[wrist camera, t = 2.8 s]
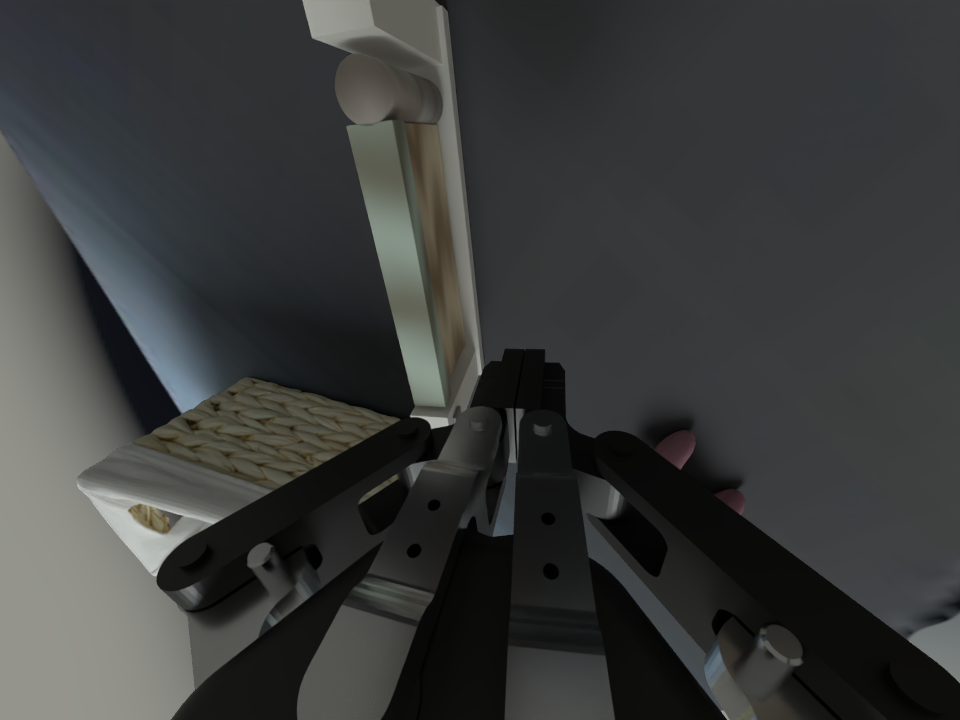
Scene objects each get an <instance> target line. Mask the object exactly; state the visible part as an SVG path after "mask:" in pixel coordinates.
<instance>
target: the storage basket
mask: <svg viewBox="0 0 960 720" xmlns="http://www.w3.org/2000/svg"><path fill="white" fill-rule="evenodd" d="M398 421H400V419H399V418H396V417H393V416H392V417H390V416H386V415H382V414H379V413H376V412H374V411H372V410H369V409H366V408H362V407H356V406H350V405H348V404H346V403H344V402H338V401H334V400H331V399H328V398H326V397H324V396H321V395H317V394H313V393H307V392H301V390H297V389H290V388H286V387H283V386H279V385H278V384H275V383H272V382H265V381H262V380H258V379H255V378H250V377H245V378H243V379H241V380H239V381H238V382H237V383H236V384H234V385H231V386H230V387H229V388H227V390H224V391H221V392H220V393H218V394H217V395H214V396H212V397H210V398H208V399H207V400H204V401H203V402H201V403H200V404H199V405H197V406H196V407H195V408H194V409H190V410H188V411H186V412H185V413H183V414H182V415H181V416H180V417H176V418H175V419H173V420H171V421H170V422H169V423H168V424H167V425H164V426H162V427H159V428H157V429H155V430H154V431H153V432H152V433H151V434H149V435H145V436H144V437H141V438H139V439H137V440H135V441H133V442H131V443H127V444H125V445H124V446H122V447H120V448H118V449H116V450H115V451H113V452H112V453H110V454H109V455H108V456H107V458H105V459H103V460H102V461H100V462H99V463H97V464H95V465H93V466H92V467H90V468H88V469H86V470H85V471H83V472H82V473H81V474H80V475H79V476H78V478H77V486H78V488H79V489H80V490H81V491H82V492H83V493H84V494H86V495H87V496H88V497H89V499H90V500H91V501H92V503H93V504H94V506H95V507H96V508H97V510H98V511H99V512H100V514H101V515H102V516H103V517H104V519H105V520H106V521H107V523H108V524H109V525H110V526H111V528H112V529H114V531H115V532H116V533H117V535H118V536H119V537H120V538H121V539H122V541H123V542H124V543H125V544H126V545H127V547H128V548H129V549H130V550H131V551H132V552H133V553H134V554H135V556H136V557H137V558H138V559H139V560H140V561H141V563H142V564H143V565H144V566H145V568H146V569H147V570H148V571H149V572H150V574H151V575H153V576H157V574H158V571H159V568H160V567H161V565H162V563H163V562H164V560H165V559H166V558H167V556H168V555H169V554H170V553H171V552H172V551H173V550H174V549H175V548H176V547H177V546H179V545H180V544H181V543H182V542H184V541H185V540H187V539H188V538H190V537H192V536H193V535H195V534H197V533H199V532H200V531H202V530H204V529H206V528H208V527H209V526H211V525H213V524H215V523H217V522H218V521H220V520H222V519H224V518H226V517H227V516H229V515H231V514H233V513H235V512H236V511H238V510H240V509H242V508H243V507H245V506H247V505H249V504H251V503H252V502H254V501H256V500H258V499H260V498H261V497H263V496H265V495H267V494H269V493H270V492H272V491H274V490H276V489H278V488H279V487H281V486H283V485H285V484H286V483H288V482H290V481H292V480H294V479H295V478H297V477H299V476H301V475H303V474H304V473H306V472H308V471H310V470H312V469H313V468H315V467H317V466H319V465H321V464H322V463H324V462H326V461H328V460H329V459H331V458H333V457H335V456H337V455H338V454H340V453H342V452H344V451H346V450H347V449H349V448H351V447H353V446H355V445H356V444H358V443H360V442H362V441H364V440H365V439H367V438H369V437H371V436H372V435H374V434H376V433H378V432H380V431H381V430H383V429H385V428H387V427H389V426H390V425H392V424H394V423H396V422H398ZM397 479H398V476H397V474H396V475H394V476H393V477H391V478H390V479H388V480H387V481H385V482H383V483H382V484H380V485H379V486H377V487H376V488H374V489H373V490H371V491H370V492H368V493H367V494H365V495H364V496H363V497H362V498H361V499H360V501H359V503H358V504H360V503H362V502H364V501H365V500H367V499H368V498H370V497H371V496H373V495H374V494H376V493H377V492H379V491H380V490H382V489H383V488H385V487H386V486H388V485H389V484H391V483H393V482H394V481H396V480H397ZM160 509H162V510H165V511H169V512H172V513H175V514H179V515H183V516H182V517H181V518H180V519H179V520H178V522H177V523H176V524H174V526H173V527H172V528H171V527H170V525H169V523H168V522H169V521H170V520H169V518H168V516H165V515H164V514H162V511H161V510H160ZM166 520H167V521H166Z"/></svg>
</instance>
